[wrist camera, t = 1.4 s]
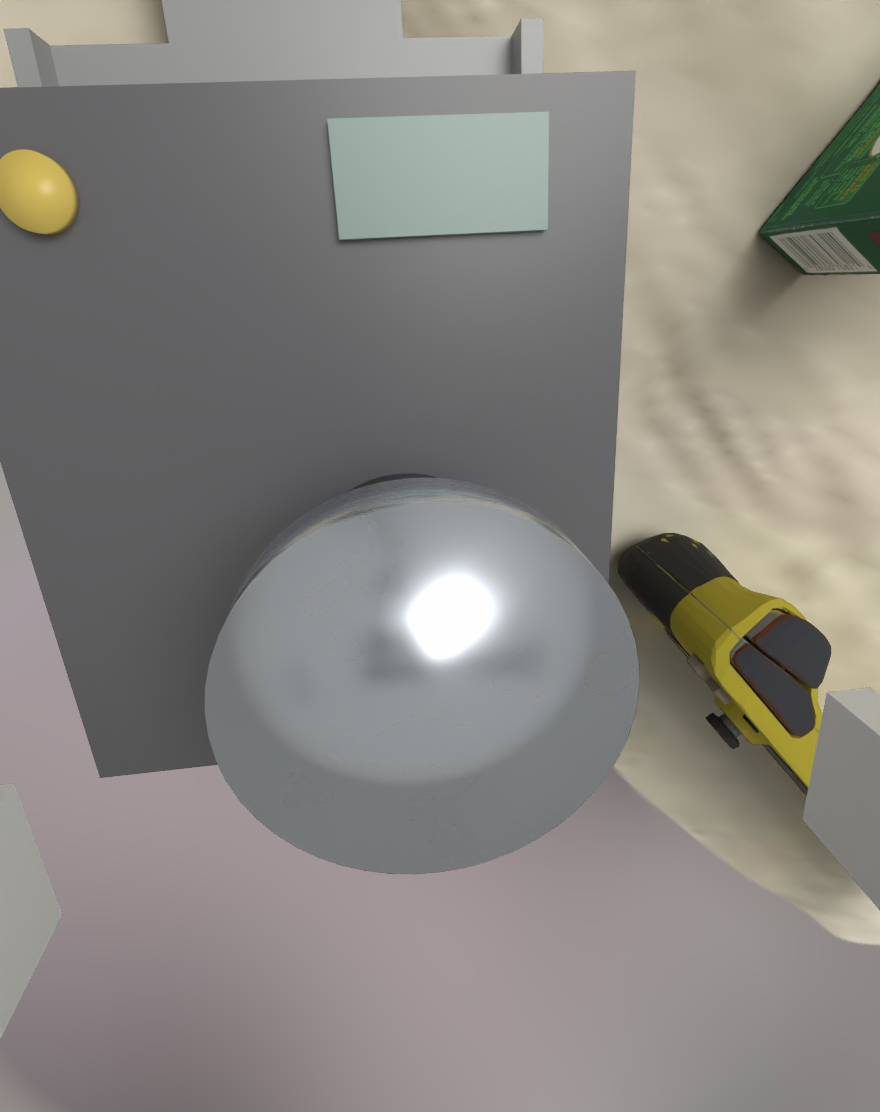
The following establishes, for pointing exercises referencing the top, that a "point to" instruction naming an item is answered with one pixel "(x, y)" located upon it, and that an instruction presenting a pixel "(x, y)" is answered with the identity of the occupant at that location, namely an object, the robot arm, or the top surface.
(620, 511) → the top surface
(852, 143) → the coffee box
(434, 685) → the disc
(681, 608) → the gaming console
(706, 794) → the top surface
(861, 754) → the robot arm
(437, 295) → the player
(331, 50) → the sliding drawer insert
